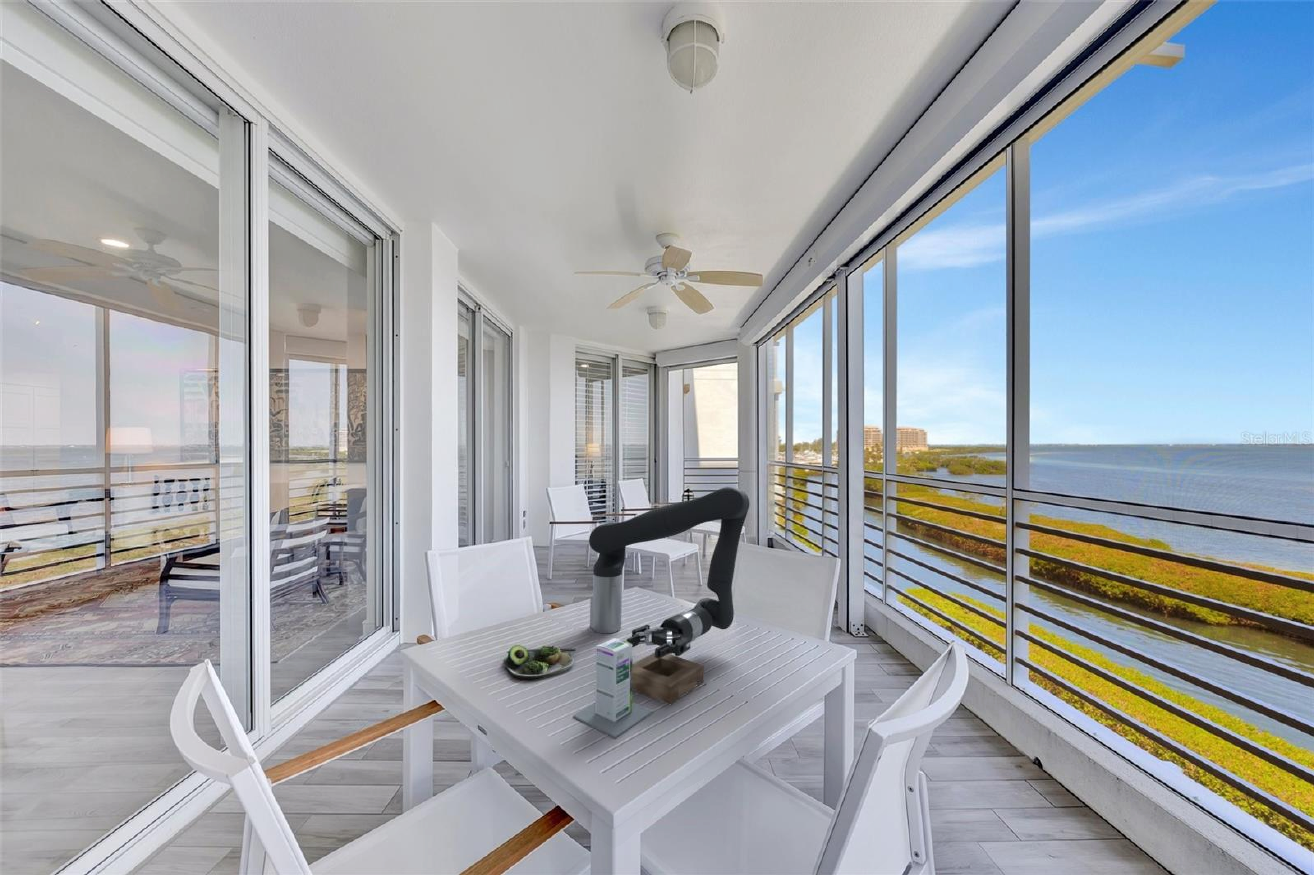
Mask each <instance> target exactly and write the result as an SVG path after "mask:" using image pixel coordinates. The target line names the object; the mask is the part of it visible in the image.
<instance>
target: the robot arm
mask: <svg viewBox="0 0 1314 875" xmlns="http://www.w3.org/2000/svg"><path fill="white" fill-rule="evenodd" d="M749 509H750V498H749V497H748V495H747V494H746V492H745V491H743V490H742V489H740V488H737V487H734V486H724V487H721V488H719V489H716V490H715V491H712V492H710V493H707V494H704V495H702V496H700V497H697V498H693V499H691V500H684V501H679V502H676V503H675V502H674V503H671V504H667V505H664V506H660V507H657V508H654V509H651V510H649V511H646V512H644V513H640V514H639V515H636V516H634V517H632V518H630V519H627V520H624V521H619V522H607V523H603V524H600V525H598V526H596V527H595V528H594V529H592V531H591V533H590V535H589V537H588V543H589V546H590V549H591V550H593V551H594V552H595V553H597V554H598V557H597V561H596V562H595V563H594V565H593V569H592V570H593V571H592V572H593V575H592V584H593V585H592V587H593V588H592V596H590V602H589V604H590V605H589V607H590V608H589V610H590V611H589V612H590V613H589V628H591V629H592V631H594V632H597V633H601V634H611V633H612V634H613V633H616V632H619V631H620V630H621V629H622V607H623V606H622V605H623V602H622V601H623V600H622V599H623V568H624V565H625V562H626V547H627V546H631V545H634V544H640V543H646V542H651V541H657V540H661V539H666V538H670V537H674V536H677V535H680V534H682V533H685V532H687V531H689V530H691V529H693V528H695V527H697V526H698V525H701V524H705V523H708V522H713V521H720V529H719V533H718V538H717V541H716V544H715V547H714V550H713V552H712V555H711V560H710V564H709V569H708V575H707V583H706V586H707V588H708V589H709V591H711V592H713V593H714V594H716V596H717V599H718V600H717V599H713V598H711V597H705V598H704V597H703V598H701V599H699V600H698V602H697V604H696V605H695V606H694V607H693V608H691V609H688V610H685V611H683V612H680V613H677V614H675V615H672V616H670V617H668V618H666V619H665V620H663V621H662V623H661V625H660V626H659V627H656V628H651V626H650V624H645V625H643V626H639V627H637V628H635V629H633V630H631V636H630V637H629V638H627V639H626V641H627V642H629V643H631V644H632V649H633V648H635V647H637V646H638V645H645V646H658V647H656V648H655V650H654V653H655V658H657V659H659V658H661V657H664V656H665V655H667V654H668V655H673V654H674V656H677V657H680V656H681V655H683V654H685V653H686V652H687V651H689V650H690V649H691V643H692V642H694V641H696V640H697V639H698V638H699V637H701V636H703V635H705V634H707V633H708V632H709V631H710V630H711V629H712V627H714V628H717V629H719V630H728V628H730V627H731V625H732V623H733V620H734V617H735V616H734V615H735V610H734V601H733V589H732V587H733V581H734V572H735V568H736V560H737V554H738V547H739V544H740V539H741V533H742V530H743V527H744V523H745V521H746V517H747V515H748V511H749ZM650 637H651V640H650Z"/></svg>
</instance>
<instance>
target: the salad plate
mask: <svg viewBox="0 0 1314 875" xmlns="http://www.w3.org/2000/svg"><path fill="white" fill-rule="evenodd" d="M576 650H577V649H576V647H575V648H573V647H572V648H571V647H570V648H569V647H567V648H561V646H554V645H543V646H540V647H536V648H531V649H527V648H526V647H525V646H523V645H521V644H516V645H512V646H511V648H510V649H509V650H508V651H506V653H507V655H506V656H505V657H504V658H503V661H502V664H503V666H504V669H505V671H506V672H507V673H508V675H509V676H510V677H511V678H513V679H515V680H518V681H522V680H524V682H525V681H526V682H527V681H536V680H542V679H545V678H548V677H551V676H555V675H558V674H560V673H563V672H566V671H568V669H571V667H572V666H573V665H575V660H574V659H573V657H571V656H570V655H569V654H571V653H574V652H576ZM556 664H558V665H561V667H560V668H558V669H557V670H554V671H551V672H550V671H549V672H548V669H549V667H551V666H554V665H556Z"/></svg>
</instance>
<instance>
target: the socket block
mask: <svg viewBox="0 0 1314 875" xmlns="http://www.w3.org/2000/svg"><path fill="white" fill-rule="evenodd" d="M704 668H705V666H704V665H703V664H700V663H697V662H694V661H691V660H689V659H685V658H682V657H680V656H675V654H674V655H673V654H672V655H668V654H667V655H665V656H664V657H661V658H659V659H657V658H655V652H652V653H651V654H649V655H647V656H645V657H643V658H641V659H639V660H637V661H636V662H634V663H633V662H632V691H635V692H637V693H640V694H641V695H643V696H648V697H650V698H653V699H655V700H657V699H658V700H657V701H659V702H661V701H662V703H664V704H666V703H667V704H666V705H669V704H671V705H673V703H675V702H677V701H678V700H680V699H682V697H681V696H682V695H684V694H685V695H687V694H688V693H689V692H688V691H690V690H691V689H693V688H694V687H695V686H696V685H698V686H700V685H701V684H702V683H701V682H702V681H703V682H704V673H705V672H704ZM668 676H669V677H668ZM700 683H701V684H700ZM699 684H700V685H699ZM695 688H696V687H695ZM695 688H694V689H695ZM694 689H693V690H694ZM691 691H692V690H691ZM691 691H690V692H691ZM687 692H688V693H687ZM686 693H687V694H686ZM685 695H684V696H685ZM679 698H680V699H679ZM677 699H678V700H677ZM676 700H677V701H676Z"/></svg>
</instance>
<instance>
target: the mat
mask: <svg viewBox="0 0 1314 875" xmlns="http://www.w3.org/2000/svg"><path fill="white" fill-rule="evenodd" d="M595 709H596V702H594V703H592V704H590V705H588V706H587V707H586V708H583V709H582V710H580V711H578V712H576V713H575V714H574V715H573V716H572V717H573V718H574V719H576V720H578V721H580V722H582V723H584V724H586V725H587V726H589V727H591V728H593V729H594V730H595V729H596V730H597V731H599V732H601V733H604V735H605V734H606V735H607V736H609V737H611V738H614V739H615V740H616V739H617V738H619V737H620V736H621V735H622V734H624V733H626V732H628V731H629V730H630V729H632V728H633V727H635V726H636V725H638V724H639V723H640V722H642V721H643V720H645V719H646V718H648V717H650V714H651V713H652V714H653V713H654V710H651V709H650V708H648V707H647V708H646V707H644V706H642V705H640V704H637V703H635V702H633V701H632V711H631V712H629V713H628V714H626V715H625V716H623V717H621V718H620V719H618V720H617V721H616V722H613V721H611V720H608V719H606V718H604V717H602V716H600V715H598V714H596V711H595ZM652 714H651V715H652ZM647 716H648V717H647ZM645 717H646V718H645ZM644 718H645V719H644ZM638 722H639V723H638Z"/></svg>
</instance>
